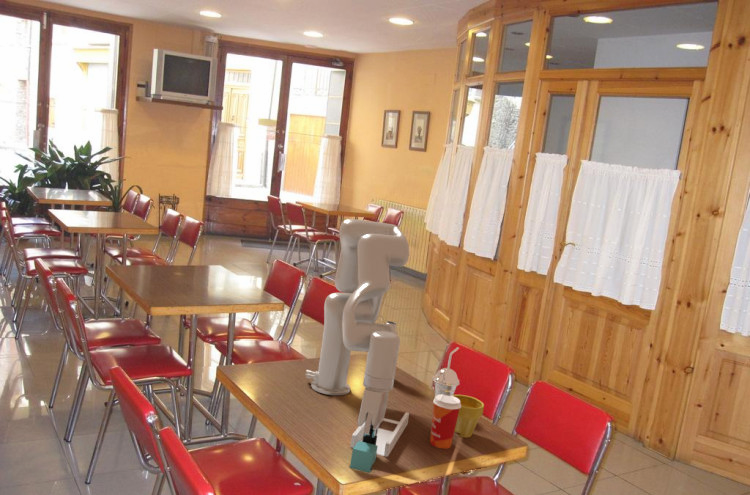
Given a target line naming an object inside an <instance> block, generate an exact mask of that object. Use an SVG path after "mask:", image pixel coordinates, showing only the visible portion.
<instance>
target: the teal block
mask: <svg viewBox="0 0 750 495" xmlns="http://www.w3.org/2000/svg"><path fill="white" fill-rule="evenodd" d="M377 447H378V446H377V445H373V444H369V443H365V442H361V441H358V442H357V444H356V445H355V446H354V448H352V452H351V456H350V457H351V460H350V465H349V468H350V469H353V470H356V471H361V472H364V473H368V474H370V473H371V472H372V470H373V467H372V466H373V464H374V463H375V462H376V458H377V454H376V453H377Z"/></svg>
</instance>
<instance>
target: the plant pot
mask: <svg viewBox="0 0 750 495" xmlns="http://www.w3.org/2000/svg"><path fill="white" fill-rule="evenodd" d="M452 396H454V397H456V398H458V399H459V400H460V404H461V408H460V409H459V414H458V418H457V422H456V427H455V431H454V433H457V434H459V435H458V437H459V438H471V437H472V436H473V434H474V431H475V428H476V426H477V424H478V421H479V419H481V418H482V416H483V413H484V408H485V404H484V402H482V401H481V400H479V399H478V398H476V397H473V396H469V395H465V394H453V395H452Z"/></svg>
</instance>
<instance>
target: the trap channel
mask: <svg viewBox="0 0 750 495" xmlns="http://www.w3.org/2000/svg"><path fill="white" fill-rule="evenodd" d="M409 416H410V412H407V411H406V412H404V414H403V415H402V418H401V419H400V421H397V420H394V419H391V418H390V419H389V418H386V417H384V419H383V421H382V422H387V423H389V424H390V423H391V424H395V425H396V427H395V429H394V430H393V431H392V430H387V429H383V428H380V427H378V433H377V435H376V436H377V441H376V445H377V446H378V447H377V453H376V455H379V456H381V457H382V456H383V457H385V458H388V457H389V455H391V452H392V451H393V449H394V447H395V446H396V444H397V442H398V441H399V439H400V437H401V435H402V434H403V432H404V431H405V429H406V427H407V426H408V423H409ZM364 427H365V422H364V423H363V425H362V426H360V427H359V426H358V427H357V428H356V430H354V432H353V433H352V435H351V438H350V439H351V440H350V446H349V447H350V448H352V449H353V448H354V446H355V445H356V444H357V442H358V441H361V442H362V441H363V435H364Z"/></svg>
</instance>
